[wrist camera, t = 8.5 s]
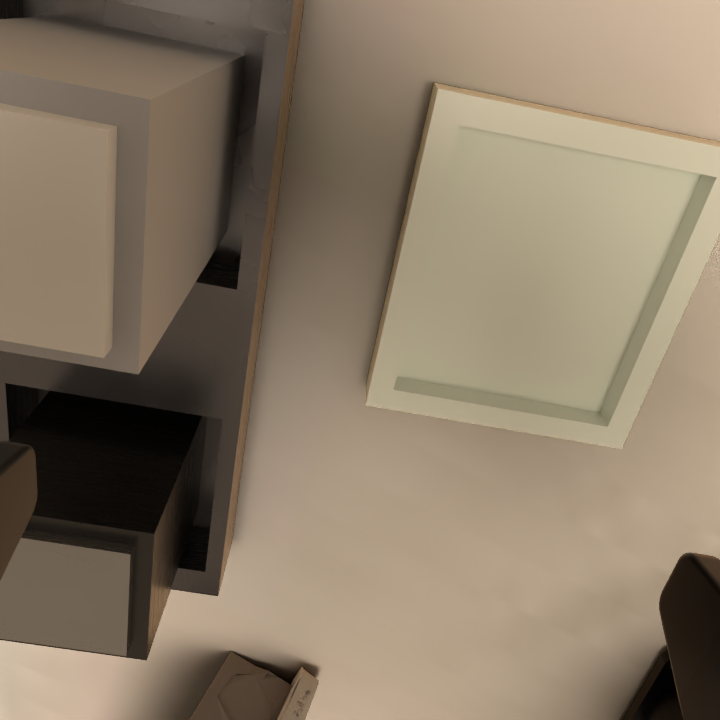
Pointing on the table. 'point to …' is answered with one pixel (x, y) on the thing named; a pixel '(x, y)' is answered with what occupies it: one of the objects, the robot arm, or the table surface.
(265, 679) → the electrical switch
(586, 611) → the table surface
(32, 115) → the plug
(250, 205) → the strip
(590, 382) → the tray
